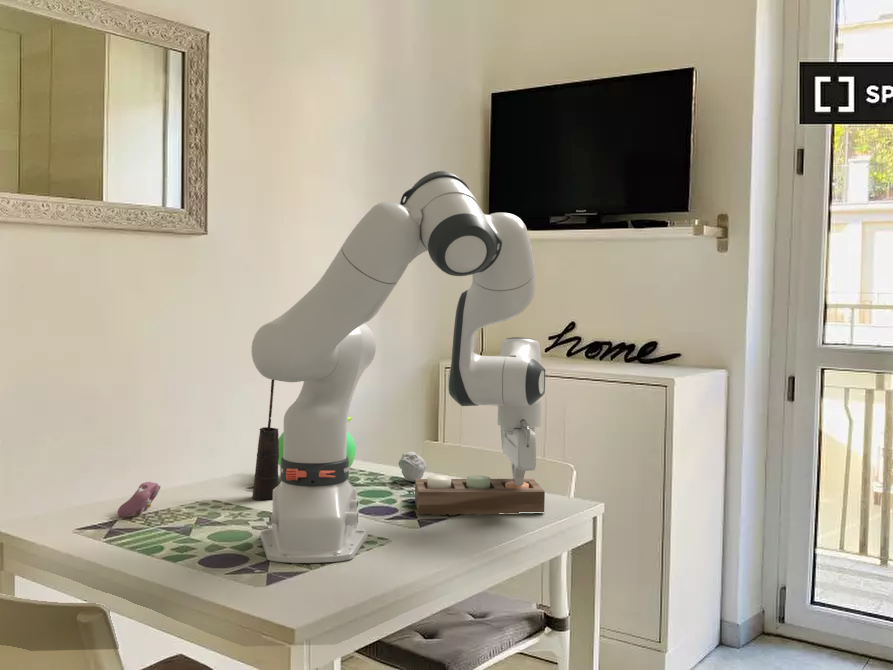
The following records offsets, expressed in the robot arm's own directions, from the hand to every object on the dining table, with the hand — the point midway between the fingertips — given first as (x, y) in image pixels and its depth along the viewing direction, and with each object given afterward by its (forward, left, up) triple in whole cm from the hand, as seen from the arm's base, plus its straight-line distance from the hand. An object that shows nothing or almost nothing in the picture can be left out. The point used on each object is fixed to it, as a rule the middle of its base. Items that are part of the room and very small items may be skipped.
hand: (518, 484), depth 184 cm
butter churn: (+8, +52, -5) cm, 53 cm away
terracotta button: (0, 0, -3) cm, 3 cm away
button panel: (0, +8, -5) cm, 9 cm away
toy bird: (+26, +42, -5) cm, 50 cm away
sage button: (0, +8, -1) cm, 8 cm away
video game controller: (-2, +75, -5) cm, 75 cm away
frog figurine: (+24, +20, -5) cm, 32 cm away
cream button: (0, +16, -1) cm, 16 cm away
